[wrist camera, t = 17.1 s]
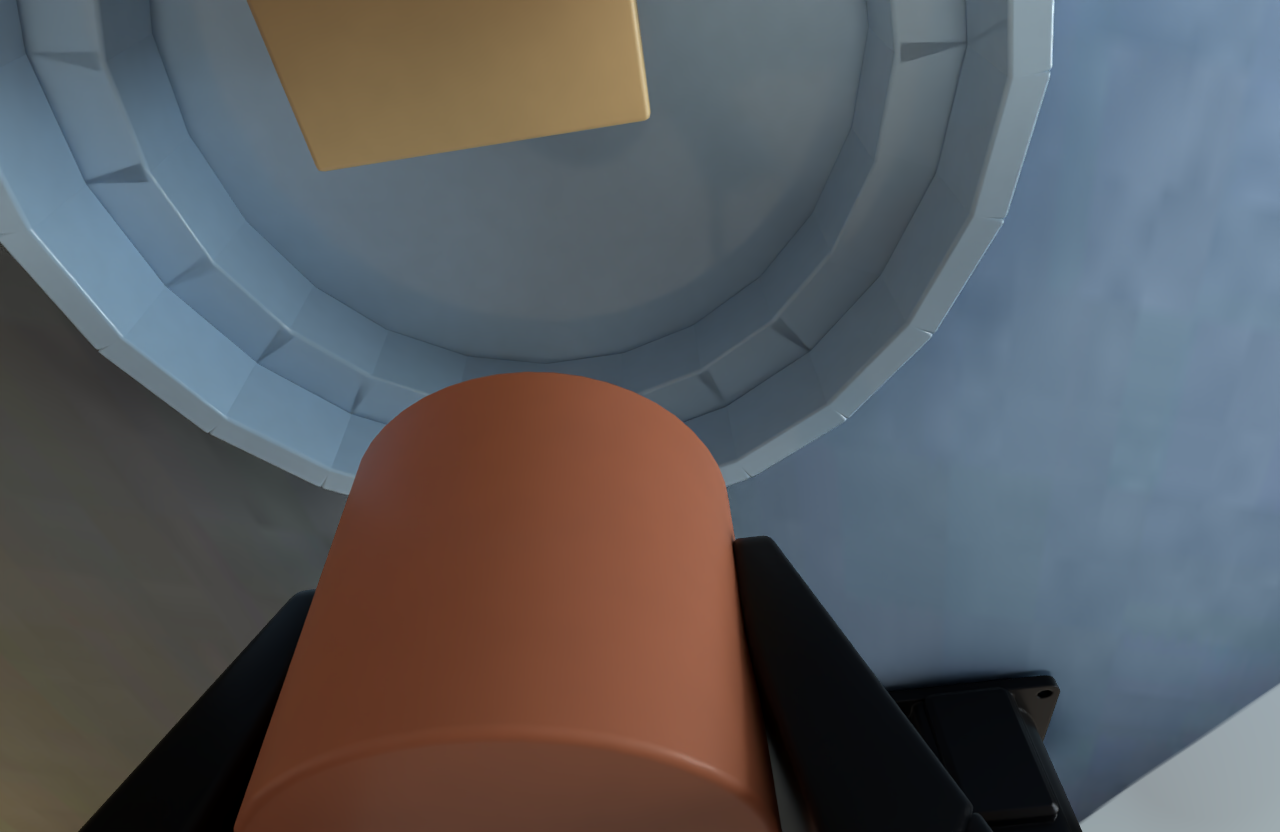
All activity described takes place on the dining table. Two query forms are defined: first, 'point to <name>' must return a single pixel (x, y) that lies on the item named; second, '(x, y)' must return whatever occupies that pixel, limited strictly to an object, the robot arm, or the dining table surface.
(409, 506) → the terracotta cylinder
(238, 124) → the bowl
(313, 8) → the birch cube
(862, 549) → the dining table surface
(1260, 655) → the dining table surface
